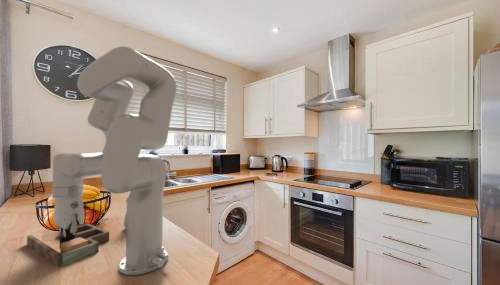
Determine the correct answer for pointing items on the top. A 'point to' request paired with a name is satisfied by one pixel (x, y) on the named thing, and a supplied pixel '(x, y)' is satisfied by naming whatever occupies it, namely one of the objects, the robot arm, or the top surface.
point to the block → (73, 244)
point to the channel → (58, 259)
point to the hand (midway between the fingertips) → (66, 247)
